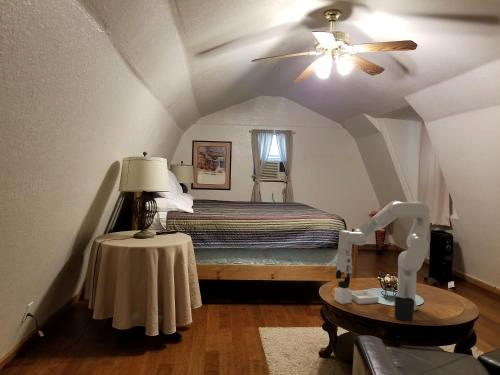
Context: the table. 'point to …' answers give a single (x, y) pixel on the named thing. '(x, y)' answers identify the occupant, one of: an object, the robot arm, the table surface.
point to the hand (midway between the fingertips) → (342, 281)
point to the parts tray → (364, 297)
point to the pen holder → (404, 308)
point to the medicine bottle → (343, 293)
